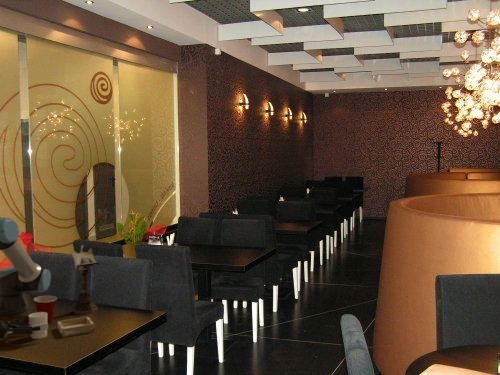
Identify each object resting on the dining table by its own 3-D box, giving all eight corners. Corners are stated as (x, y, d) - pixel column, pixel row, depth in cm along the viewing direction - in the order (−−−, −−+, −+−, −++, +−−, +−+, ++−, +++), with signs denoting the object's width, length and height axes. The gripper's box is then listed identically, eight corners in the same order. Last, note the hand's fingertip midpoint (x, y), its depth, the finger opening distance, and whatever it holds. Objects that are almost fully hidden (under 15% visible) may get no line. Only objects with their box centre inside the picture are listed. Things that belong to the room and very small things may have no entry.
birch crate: (57, 328, 250) (57, 321, 250) (88, 323, 257) (87, 316, 257) (62, 337, 238) (62, 329, 238) (94, 331, 245) (94, 324, 244)
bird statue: (105, 313, 272) (102, 245, 270) (78, 318, 266) (75, 248, 264) (97, 306, 287) (94, 241, 285) (72, 310, 281) (69, 243, 278)
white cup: (29, 340, 235) (28, 318, 234) (29, 335, 242) (28, 313, 241) (48, 337, 238) (47, 315, 237) (48, 332, 245) (47, 311, 244)
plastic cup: (50, 325, 255) (49, 301, 254) (30, 324, 257) (28, 300, 256) (62, 318, 265) (61, 295, 265) (43, 318, 267) (41, 294, 267)
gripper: (-8, 330, 242) (42, 322, 252) (-4, 347, 220) (50, 338, 230) (-8, 314, 242) (41, 307, 252) (-5, 329, 220) (49, 321, 230)
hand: (46, 322), depth 241 cm, fingers open, 13 cm apart
